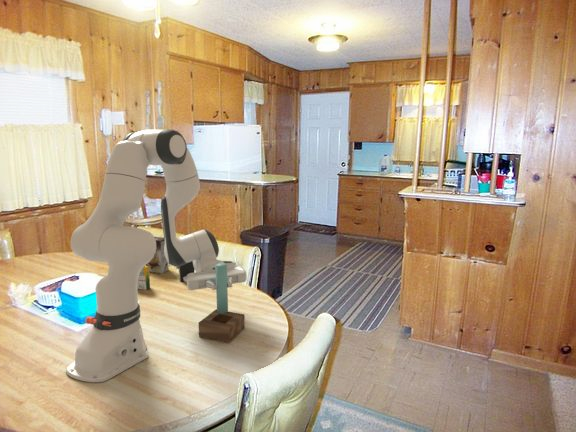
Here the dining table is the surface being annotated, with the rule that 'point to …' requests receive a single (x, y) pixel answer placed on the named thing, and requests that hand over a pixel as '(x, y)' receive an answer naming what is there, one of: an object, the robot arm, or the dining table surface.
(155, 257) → the coffee box
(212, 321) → the socket block
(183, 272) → the battery charger
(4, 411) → the dining table surface
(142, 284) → the crayon box
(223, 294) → the peg
